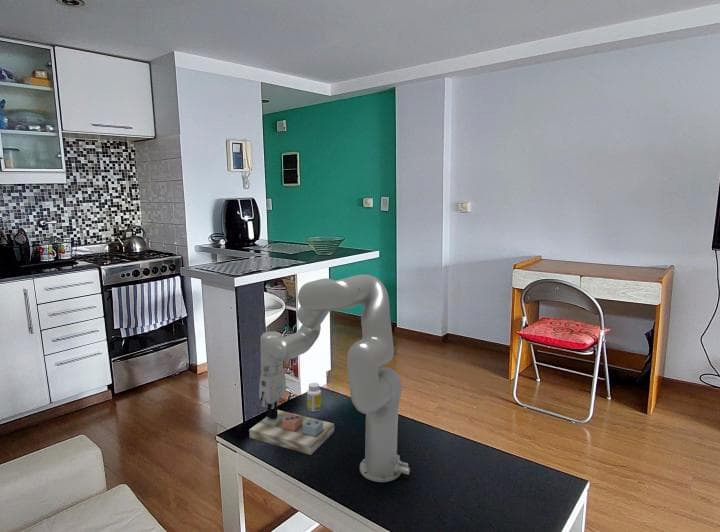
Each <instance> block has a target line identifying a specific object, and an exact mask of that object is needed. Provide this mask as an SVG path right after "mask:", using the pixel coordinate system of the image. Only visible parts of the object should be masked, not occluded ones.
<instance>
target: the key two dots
mask: <svg viewBox="0 0 720 532" xmlns="http://www.w3.org/2000/svg"><path fill="white" fill-rule="evenodd" d="M314 419H315V418H313V419H309V420H308V421H307V422H305V423H304V424H303V425H302V433H303V434H307V435H310V436H314V437H316V436H317V435H318V434H319V433H320V432H321V431H322V430H323V422H322V421H323V420H321V421H318V420H319V419H317V420H314Z"/></svg>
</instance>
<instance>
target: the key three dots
mask: <svg viewBox="0 0 720 532" xmlns="http://www.w3.org/2000/svg"><path fill="white" fill-rule="evenodd" d="M294 414H295V413H293V414H289V415H288V416H287V417H285V418H284V419H283V420H282V428H283V429H287V430H291V431H296V430H297V429H298V428H299V427H301V426H302V425H303V417H302V416H303V415H301V416H298V415H299V414H297V415H294Z"/></svg>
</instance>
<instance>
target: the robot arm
mask: <svg viewBox="0 0 720 532" xmlns="http://www.w3.org/2000/svg"><path fill="white" fill-rule="evenodd" d="M389 299H390V298H389V293H388V290H387V289H386V287H385V284H383V282H382V281H381V280H380V279H379V278H378V277H375V276H373V275H370V274H355V275H352V276H349V277H345V278H340V279H338V280H337V279H336V280H335V279H331V278H328V277H326V278H320V279H316V280H312V281H308V282H306V283H305V284H303V285H302V286H301V287H300V289H299V290H298V294H297V301H298V303H299V305H300V307H299V308H298V309H297V311H296V317H297V320H298V321H299V323H300V324H301V326H300V328H299V329H298V330H297V331H296V332H295V333H292V334H288V335H286V336H283V335H282V333H281V332H279V331H275V330H274V331H273V330H271V331H270V330H269V331H266V332H263V333H262V334H261V336H260V377H259V391H258V392H259V393H258V394H259V401H260V402H261V408H265V409H266V414H267V416H266V417H268V418H271V419H276V418H277V417H278V410H279V409H278V406H279V403H280V402H279V401H280V399H282V398H283V397H284V396H285V395H286V393H287V382H286V381H287V379H286V373H285V369H284V362H288V361H290V360H292V359H295V358H296V357H298V356H301V355H303V354H305V353H307V352H308V351H309V350H310V349H311V348H312V347H313V346H314V344H315V343H316V341H317V340H318V338H319V337H320V334H321V331H322V330H321V329H322V327H321V325H322V323H323V322H324V321H325V318H326V317H327V316H328V314H329V313H330V312H331V311H333V312H335V311H344V310H348V309H351V308H354V307H356V306H357V307H358V306H359V305H361V304H362V306H363V308H362V312H361V318H360V319H361V320H360V324H361V330H362V331H361V332H362V333H361V334H362V337H361V339H359V340H358V341H356V342H354V343H353V344H352V345H351V346H350V348H349V349H348V351H347V357H346V369H347V378H348V385H349V394H350V399H351V402H352V404H353V406H354V408H355V409H356V410H357V411H358V412H360V413H361V414H363V415H365V436H364V437H365V441H364V442H365V443H364V444H365V445H364V458H363V459H362V461H361V462H360V463H359V472H360V474H361V476H363V477H364V478H365V479H367V480H369V481H372V482H375V483H387V482H392V481H394V480H396V479H398V478H399V477H400V476H401V474H404V475H410V472H411V469H410V467H409V463H408V462H405V461H402V460H401V457H400V456H401V455H399V454H398V427H399V426H398V424H399V423H398V422H399V408H400V402H401V401H400V400H401V396H402V387H403V386H402V385H403V384H402V379H401V377H400V375H399V373H398V372H397V371H396V370H394V369H393V368H391V367H385V366H386V365H387V364H389V363H390V362H391V361H392V359H393V357H394V354H395V353H394V352H395V350H394V339H393V330H392V323H391V314H390V313H391V312H390V300H389Z"/></svg>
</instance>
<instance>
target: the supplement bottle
mask: <svg viewBox="0 0 720 532" xmlns="http://www.w3.org/2000/svg"><path fill="white" fill-rule="evenodd" d="M306 408H307V410H308V411H309V412H314V413H315V412H318V411H320V410H321V409H322V390H321V389H320V384H319V383H318V382H311V383H309V384H308V390H307V391H306Z"/></svg>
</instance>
